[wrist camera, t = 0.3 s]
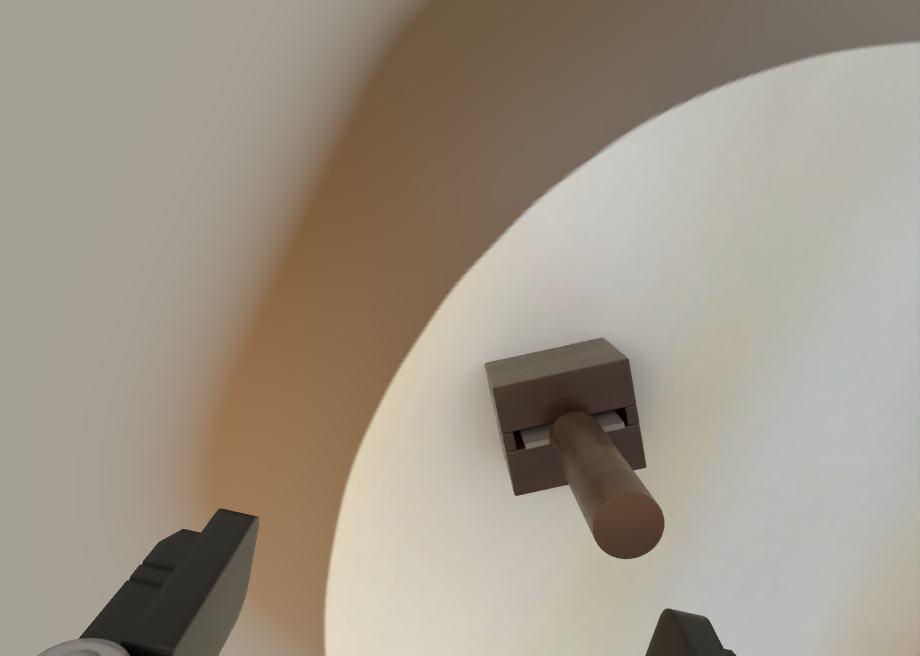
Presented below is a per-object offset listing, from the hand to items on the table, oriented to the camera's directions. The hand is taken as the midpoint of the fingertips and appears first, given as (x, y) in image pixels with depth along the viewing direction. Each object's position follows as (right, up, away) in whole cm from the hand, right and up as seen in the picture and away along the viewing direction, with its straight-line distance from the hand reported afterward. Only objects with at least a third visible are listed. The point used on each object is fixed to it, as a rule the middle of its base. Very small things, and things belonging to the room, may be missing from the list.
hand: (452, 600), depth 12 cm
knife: (+6, +1, +25) cm, 26 cm away
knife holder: (+6, +1, +25) cm, 26 cm away
